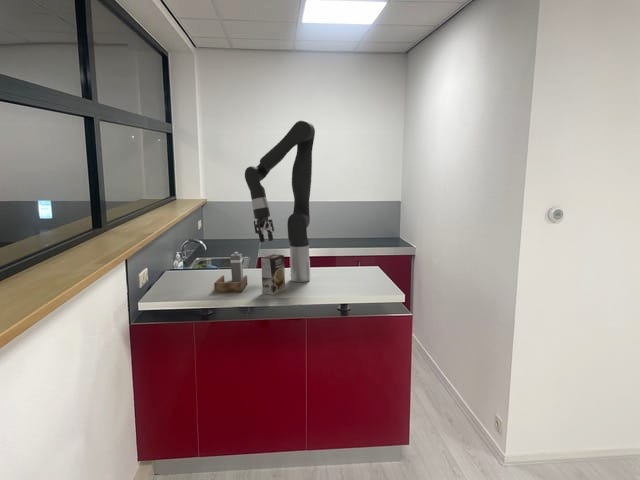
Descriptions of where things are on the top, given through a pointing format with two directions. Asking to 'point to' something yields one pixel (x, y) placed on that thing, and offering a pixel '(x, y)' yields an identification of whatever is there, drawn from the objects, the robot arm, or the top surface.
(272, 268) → the coffee box
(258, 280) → the top surface
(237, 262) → the connector plug
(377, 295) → the top surface
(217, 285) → the caddy
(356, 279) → the top surface
